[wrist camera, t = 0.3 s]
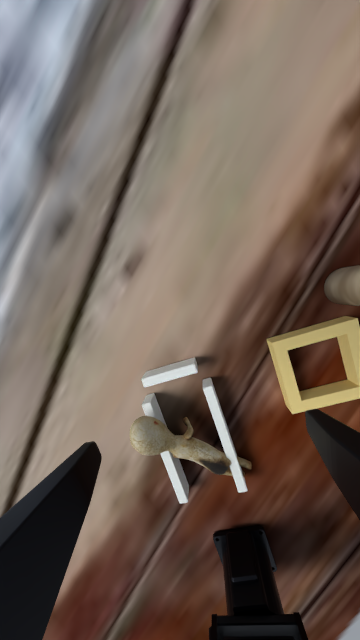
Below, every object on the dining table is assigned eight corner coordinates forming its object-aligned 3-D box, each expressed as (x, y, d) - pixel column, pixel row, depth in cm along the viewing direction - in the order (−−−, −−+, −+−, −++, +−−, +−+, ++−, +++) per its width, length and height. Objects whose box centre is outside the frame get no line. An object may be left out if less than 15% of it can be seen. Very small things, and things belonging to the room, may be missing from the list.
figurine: (245, 440, 25) (141, 397, 21) (264, 477, 21) (138, 430, 17) (229, 461, 26) (125, 422, 22) (244, 501, 21) (118, 460, 18)
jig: (376, 447, 22) (394, 463, 20) (181, 486, 25) (179, 503, 23) (344, 313, 20) (360, 315, 18) (138, 373, 23) (132, 381, 21)
